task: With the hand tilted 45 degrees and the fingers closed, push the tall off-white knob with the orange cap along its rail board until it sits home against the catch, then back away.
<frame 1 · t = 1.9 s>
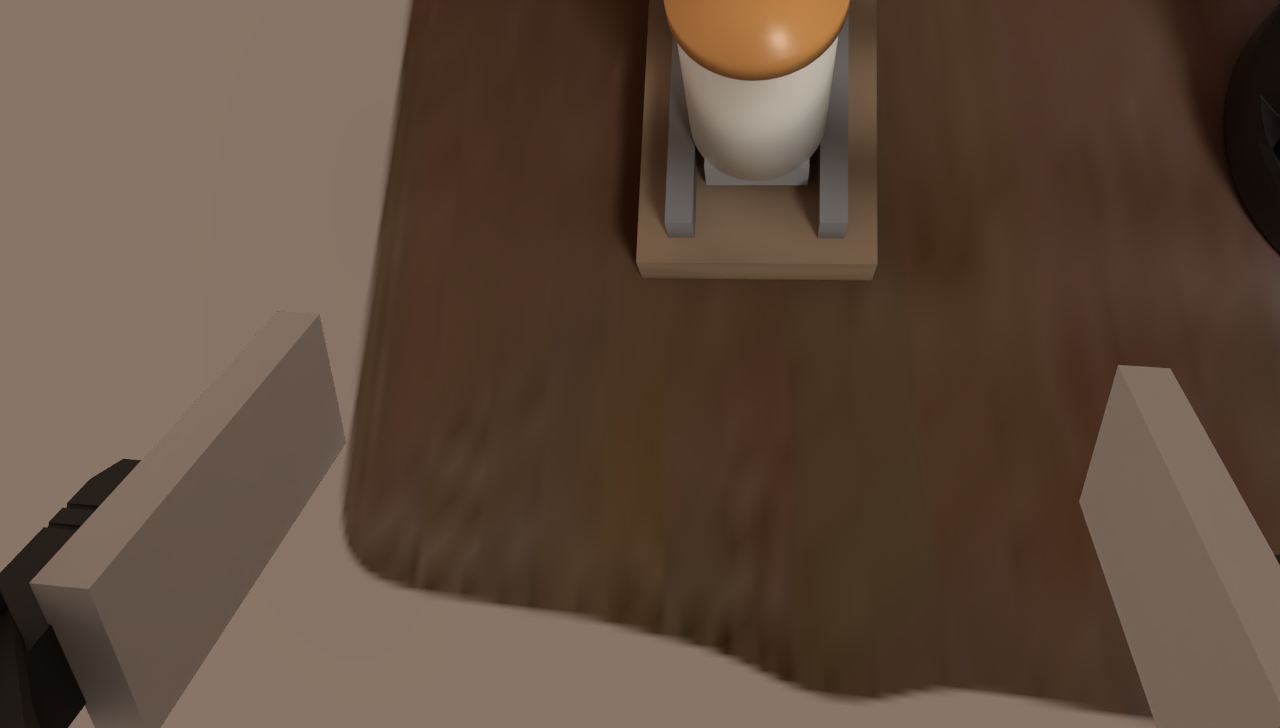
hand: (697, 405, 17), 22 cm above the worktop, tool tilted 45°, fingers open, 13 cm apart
knob mount: (760, 48, 42), on the worktop
knob: (757, 68, 34), point 8 cm above the worktop, slide at 0.0 cm
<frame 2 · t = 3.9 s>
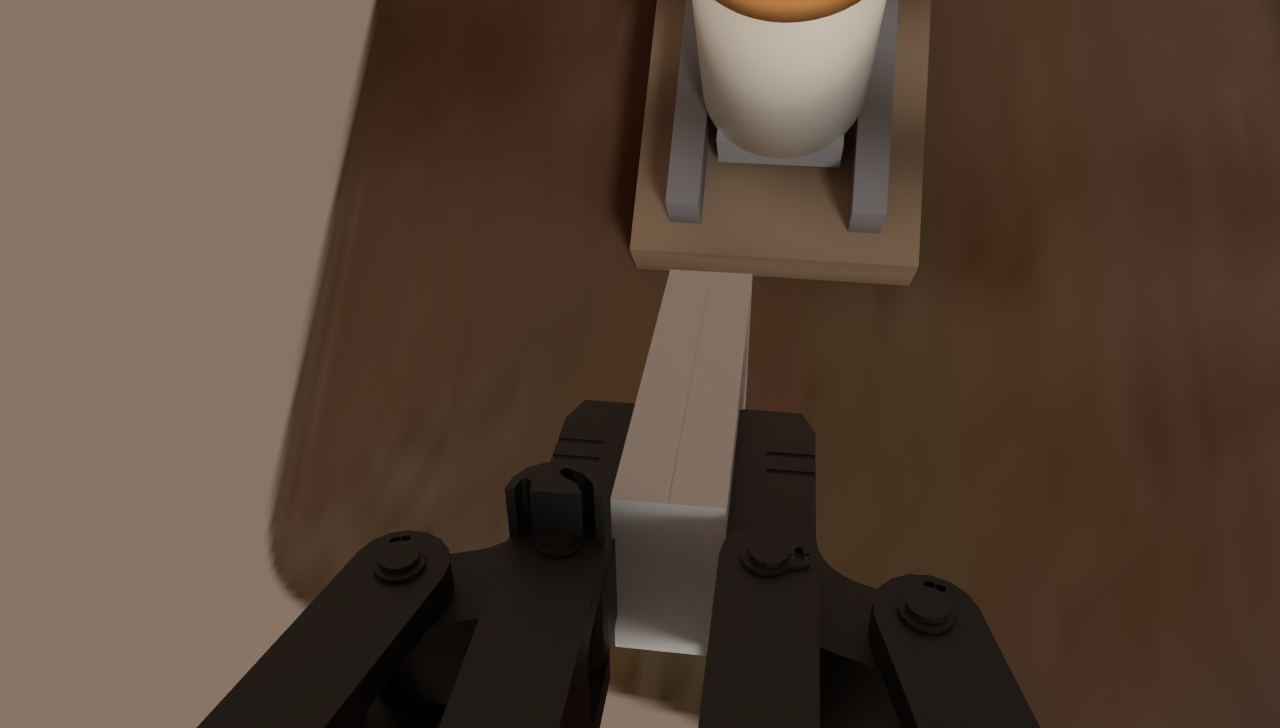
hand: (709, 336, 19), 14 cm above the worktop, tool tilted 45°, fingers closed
knob mount: (792, 6, 36), on the worktop
knob: (787, 17, 27), point 8 cm above the worktop, slide at 0.0 cm
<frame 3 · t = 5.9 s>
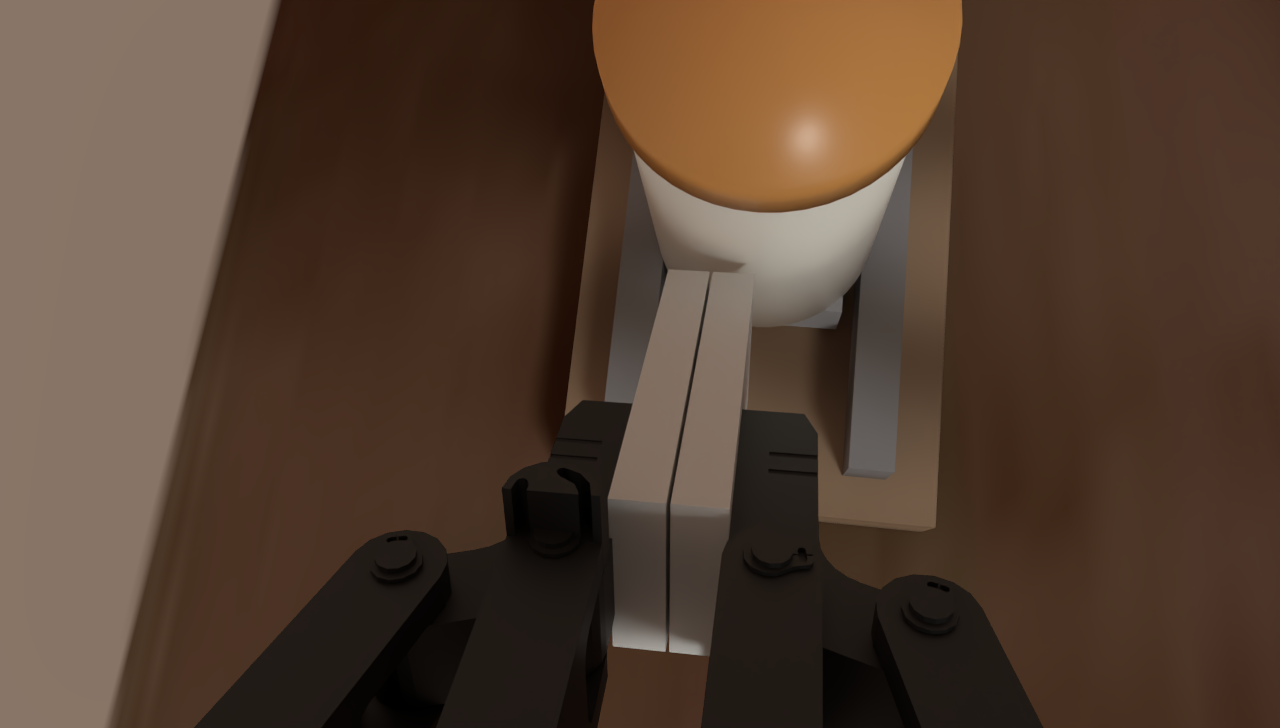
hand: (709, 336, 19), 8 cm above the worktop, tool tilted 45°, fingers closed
knob mount: (772, 150, 28), on the worktop
knob: (767, 159, 20), point 7 cm above the worktop, slide at 1.5 cm, touching gripper
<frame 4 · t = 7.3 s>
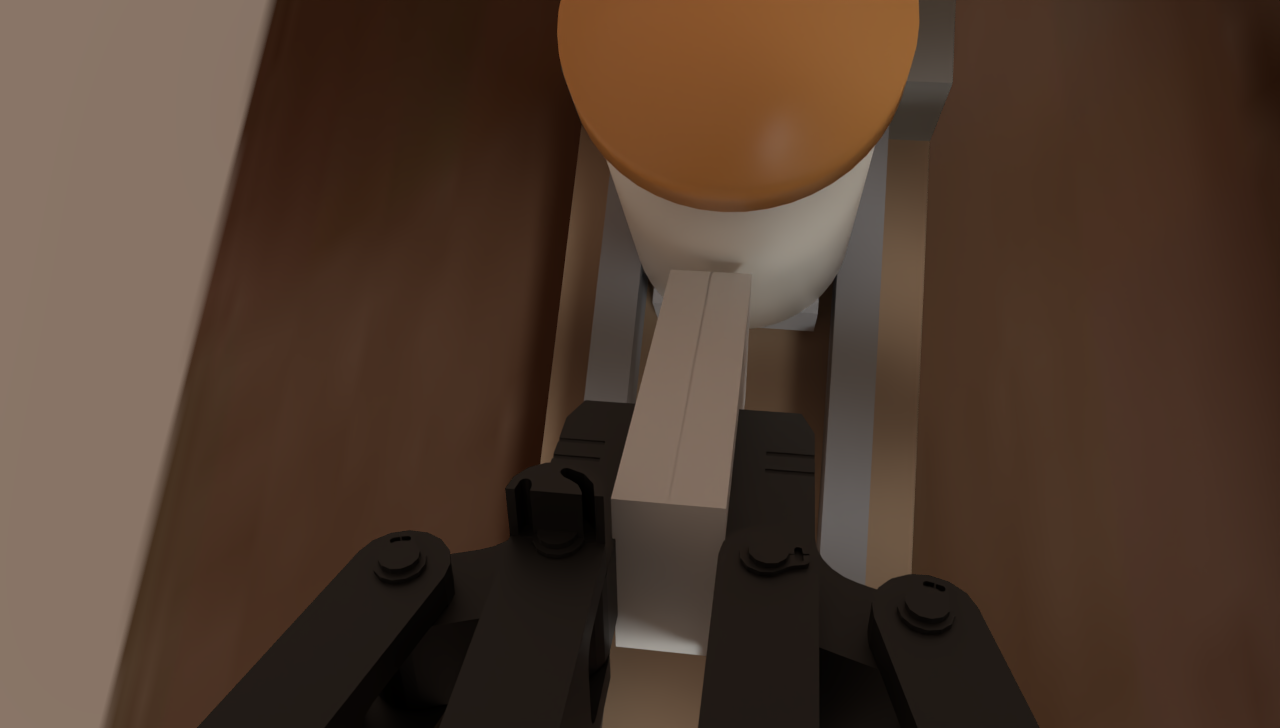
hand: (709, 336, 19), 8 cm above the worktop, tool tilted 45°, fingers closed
knob mount: (731, 411, 27), on the worktop
knob: (739, 162, 20), point 7 cm above the worktop, slide at 8.7 cm, touching gripper
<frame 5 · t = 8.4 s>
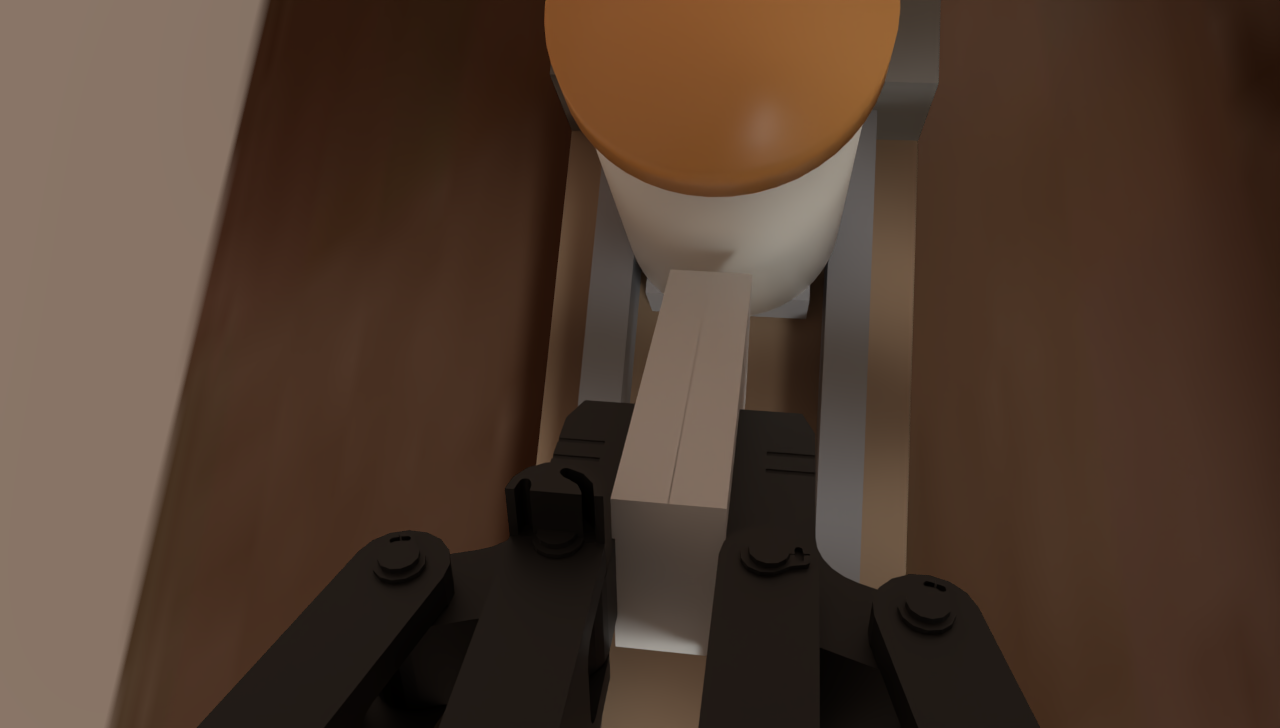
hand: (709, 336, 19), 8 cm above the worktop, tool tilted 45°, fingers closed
knob mount: (725, 412, 27), on the worktop
knob: (728, 150, 20), point 8 cm above the worktop, slide at 9.1 cm
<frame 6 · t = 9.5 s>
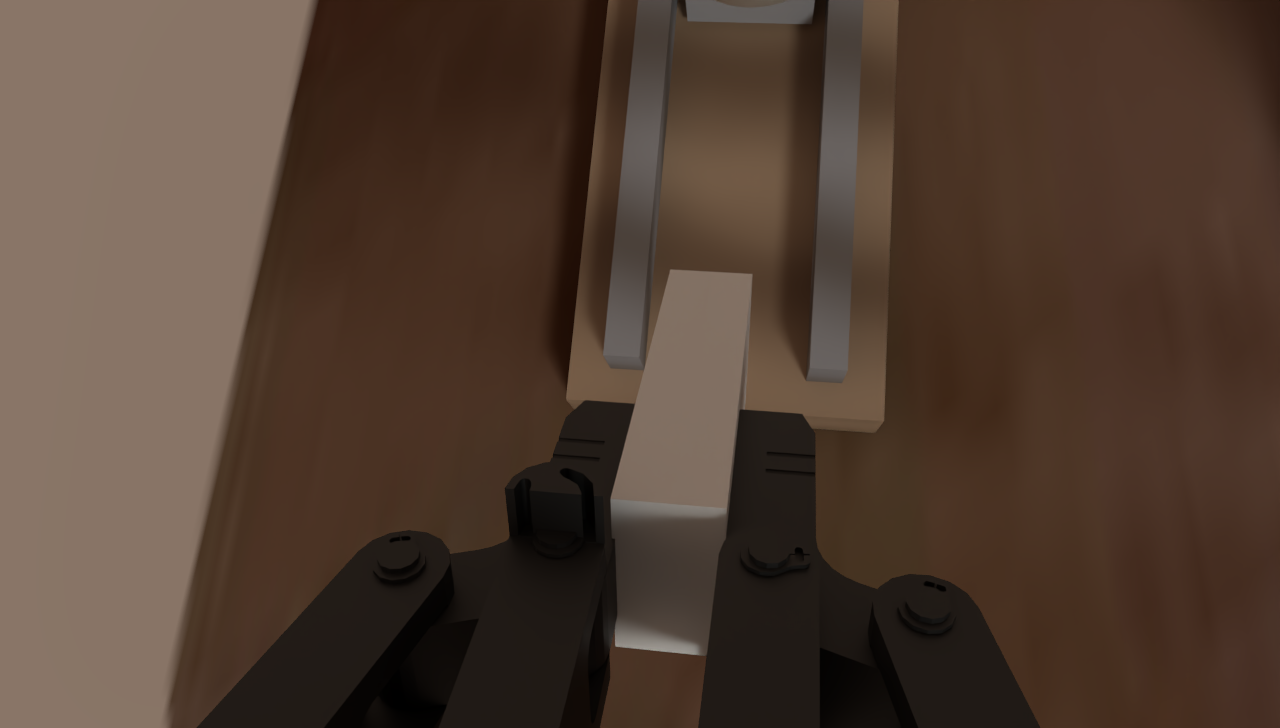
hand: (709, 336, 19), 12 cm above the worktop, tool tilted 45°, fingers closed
knob mount: (744, 119, 33), on the worktop
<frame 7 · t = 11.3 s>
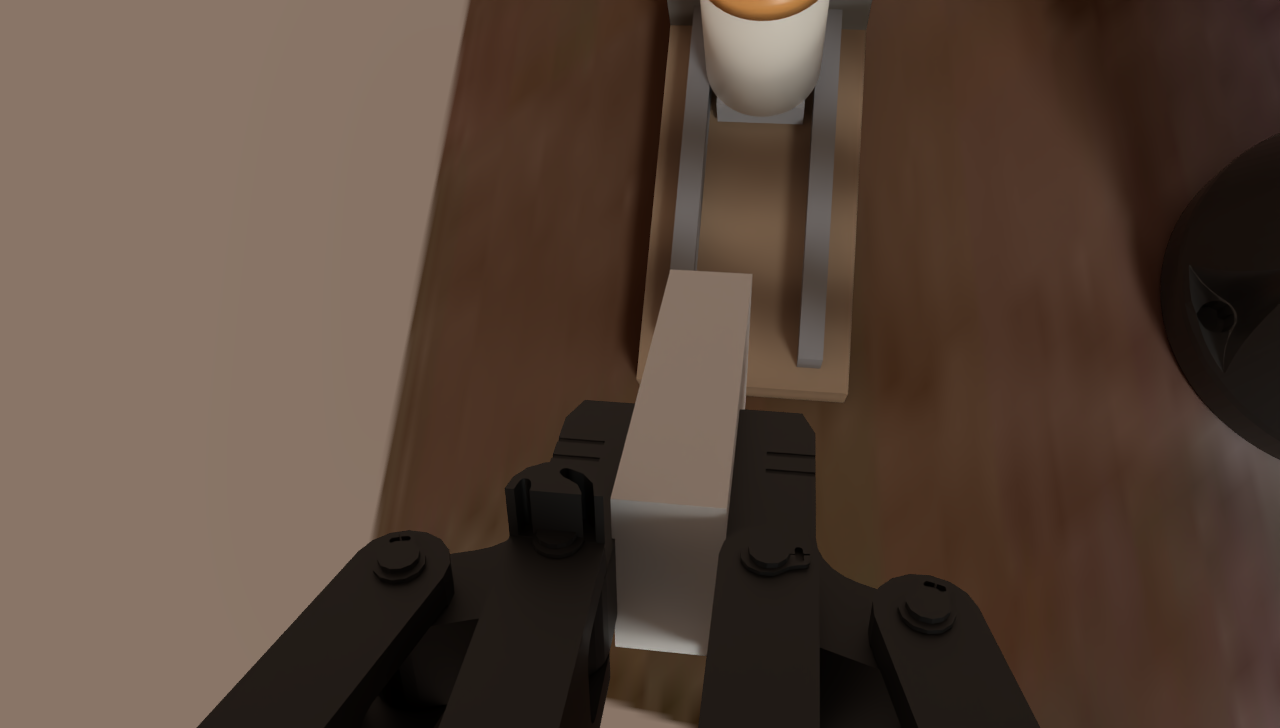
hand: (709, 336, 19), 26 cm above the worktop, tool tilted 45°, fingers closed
knob mount: (756, 185, 47), on the worktop
knob: (764, 18, 41), point 7 cm above the worktop, slide at 9.1 cm
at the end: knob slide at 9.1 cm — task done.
